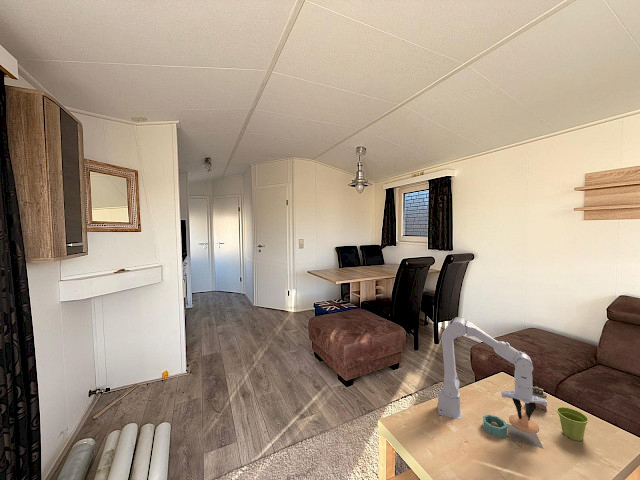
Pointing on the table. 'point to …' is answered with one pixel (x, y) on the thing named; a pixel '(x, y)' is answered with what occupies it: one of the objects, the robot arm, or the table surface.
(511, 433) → the mat
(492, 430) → the bowl
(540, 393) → the lighter
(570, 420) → the plant pot
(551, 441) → the table surface
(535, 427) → the lid
